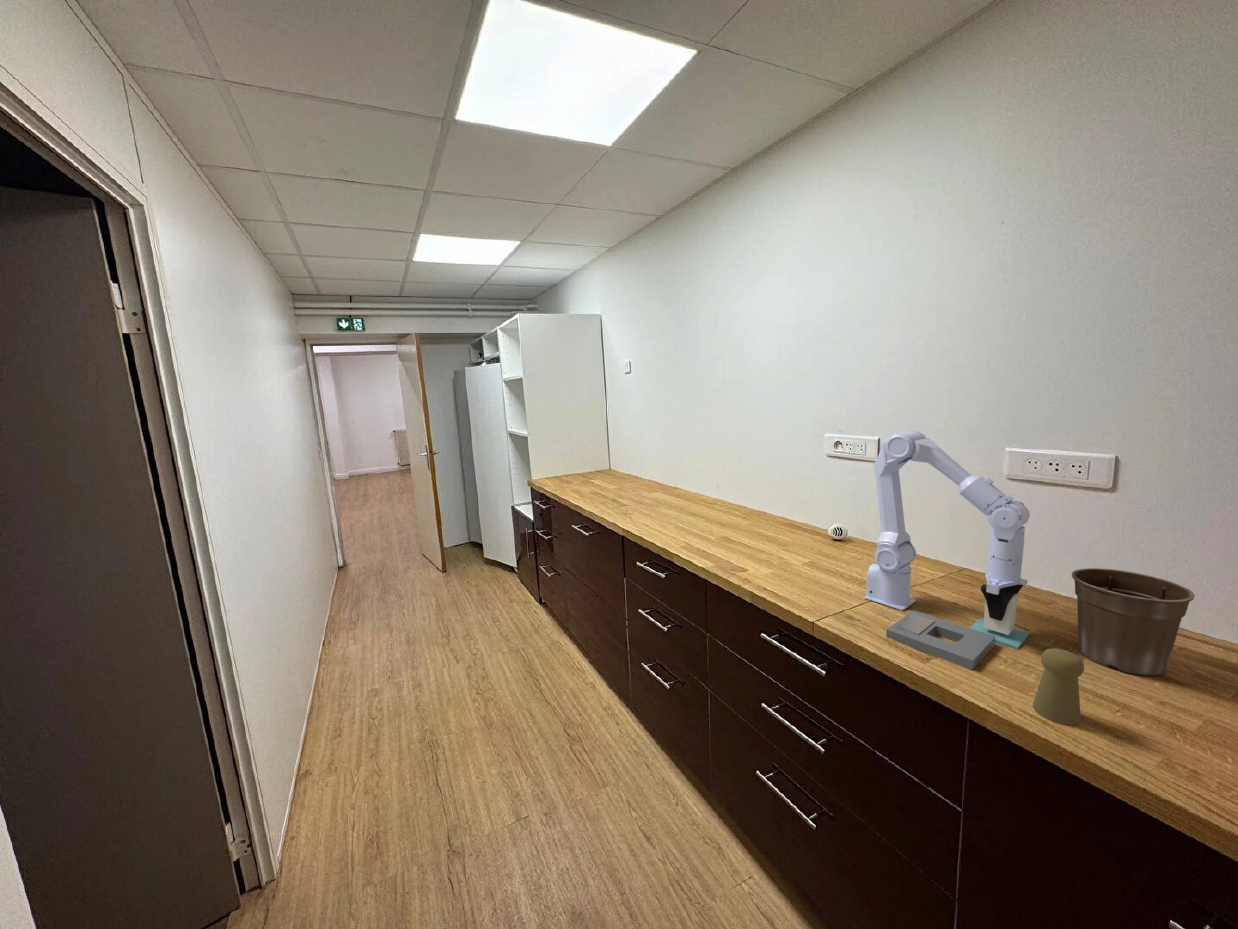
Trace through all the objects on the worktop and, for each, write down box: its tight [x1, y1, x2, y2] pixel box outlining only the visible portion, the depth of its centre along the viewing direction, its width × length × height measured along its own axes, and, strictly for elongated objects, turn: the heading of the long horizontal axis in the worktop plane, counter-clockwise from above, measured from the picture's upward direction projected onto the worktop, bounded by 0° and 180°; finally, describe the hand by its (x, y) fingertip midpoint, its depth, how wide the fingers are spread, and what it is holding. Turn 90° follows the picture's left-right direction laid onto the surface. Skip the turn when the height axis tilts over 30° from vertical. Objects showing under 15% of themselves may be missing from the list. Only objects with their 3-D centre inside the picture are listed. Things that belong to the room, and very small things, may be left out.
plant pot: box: [1071, 567, 1196, 676], centre depth 93 cm, size 16×16×16 cm
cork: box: [1032, 648, 1085, 727], centre depth 79 cm, size 6×6×11 cm
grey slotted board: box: [885, 610, 996, 670], centre depth 102 cm, size 16×14×2 cm
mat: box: [969, 618, 1030, 650], centre depth 105 cm, size 9×9×1 cm
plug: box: [983, 593, 1019, 635], centre depth 104 cm, size 4×4×8 cm
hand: (999, 615), depth 104 cm, fingers closed on plug, 4 cm apart
